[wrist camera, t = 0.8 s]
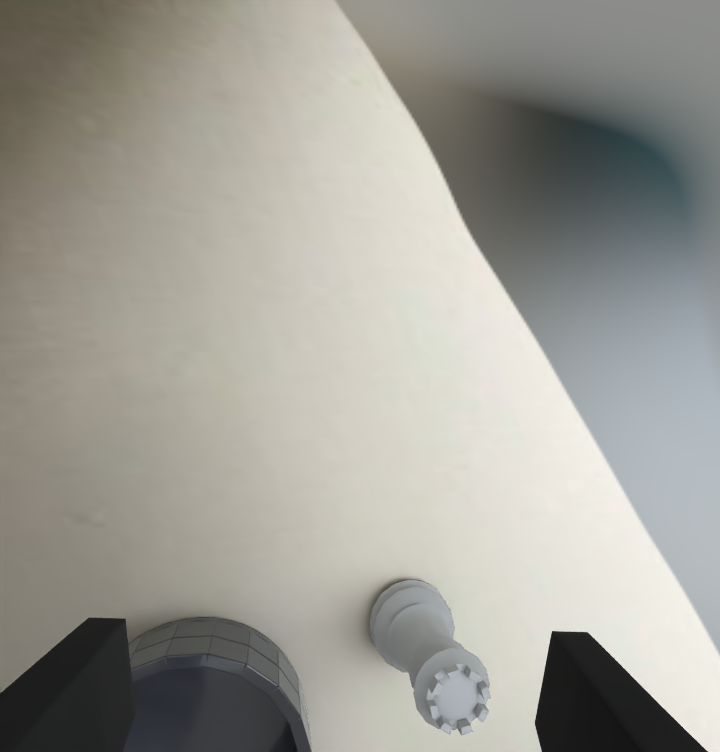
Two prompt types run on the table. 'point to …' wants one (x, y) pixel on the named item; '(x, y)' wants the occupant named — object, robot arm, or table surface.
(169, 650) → the pan
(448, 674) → the rook chess piece
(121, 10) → the table surface
